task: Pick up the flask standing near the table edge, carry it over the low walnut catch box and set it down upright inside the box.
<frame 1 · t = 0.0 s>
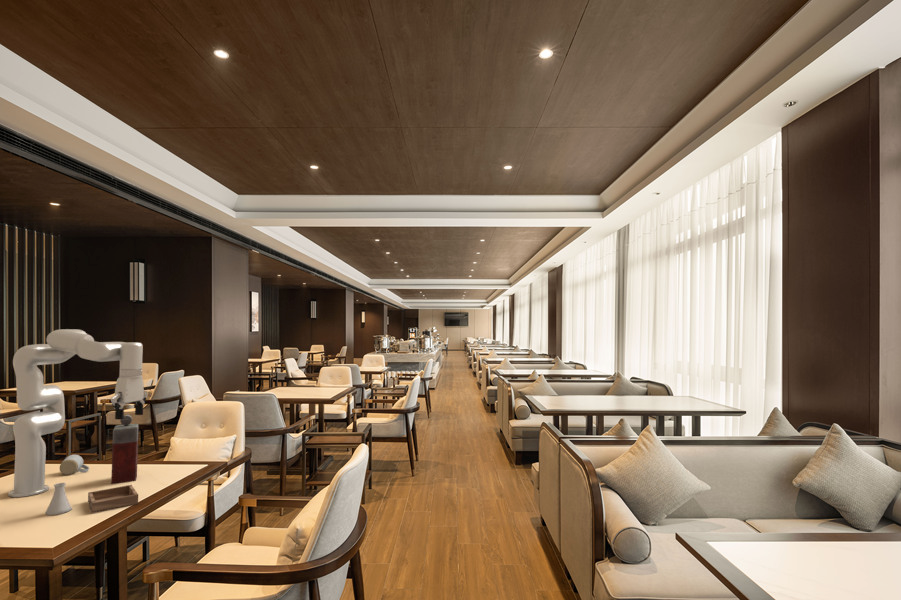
hand: (129, 417, 194), 31 cm above the table, tool pointing down, fingers open, 9 cm apart
flask: (58, 512, 177), on the table
catch box: (112, 502, 186), on the table
ceramic mug: (74, 473, 227), on the table
red decanter: (124, 479, 216), on the table
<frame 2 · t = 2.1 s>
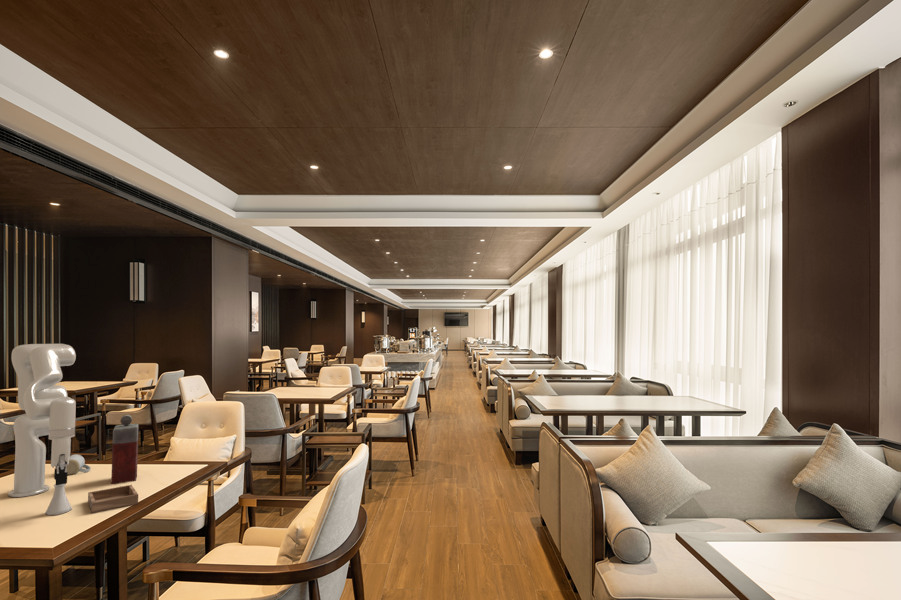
hand: (60, 481, 178), 11 cm above the table, tool pointing down, fingers open, 9 cm apart
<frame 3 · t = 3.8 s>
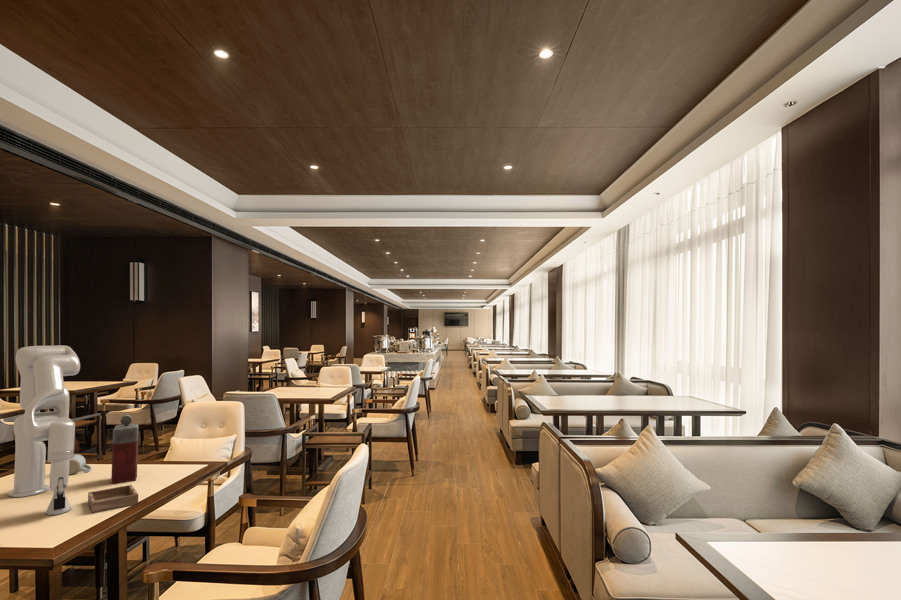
hand: (58, 506, 177), 2 cm above the table, tool pointing down, fingers closed on flask, 5 cm apart
flask: (58, 512, 177), on the table, touching gripper
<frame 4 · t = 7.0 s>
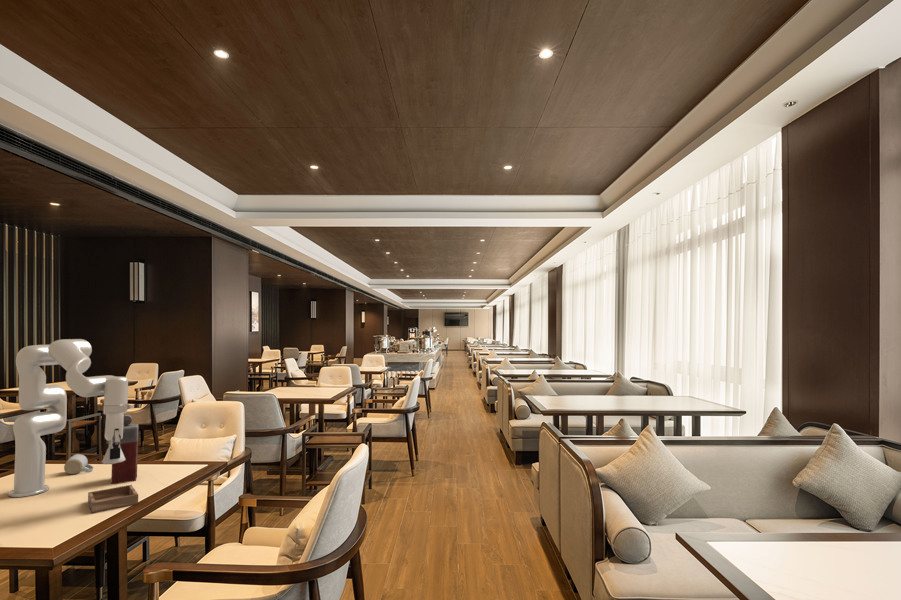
hand: (113, 456, 187), 17 cm above the table, tool pointing down, fingers closed on flask, 5 cm apart
flask: (113, 462, 187), point 15 cm above the table, touching gripper
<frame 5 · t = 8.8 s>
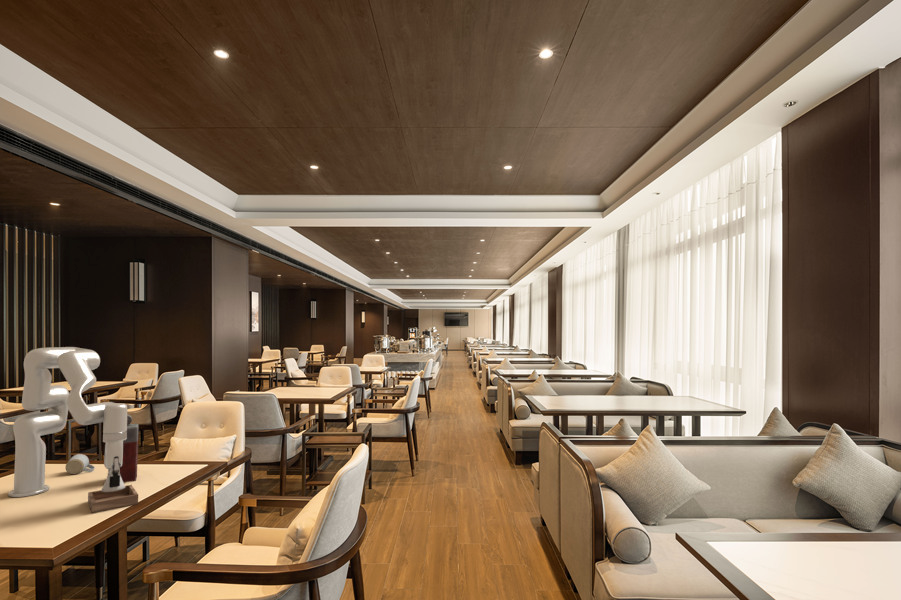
hand: (113, 484, 187), 7 cm above the table, tool pointing down, fingers closed on flask, 5 cm apart
flask: (113, 490, 187), point 5 cm above the table, touching gripper
when the fingers open (4 cm above the table, at t = 10.3 s): flask drops 1 cm, resting on catch box.
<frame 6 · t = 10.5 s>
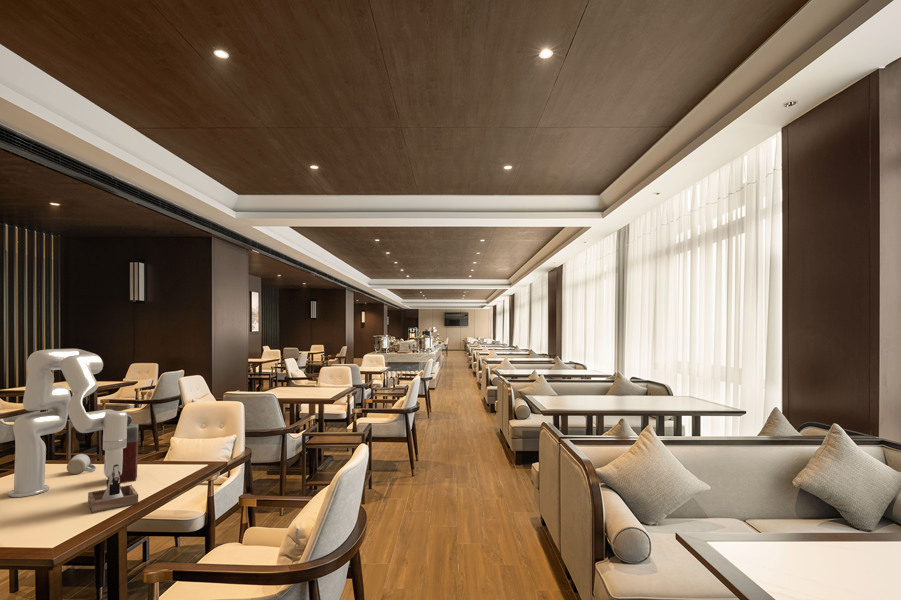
hand: (113, 491, 187), 4 cm above the table, tool pointing down, fingers open, 7 cm apart
flask: (112, 502, 186), resting on catch box
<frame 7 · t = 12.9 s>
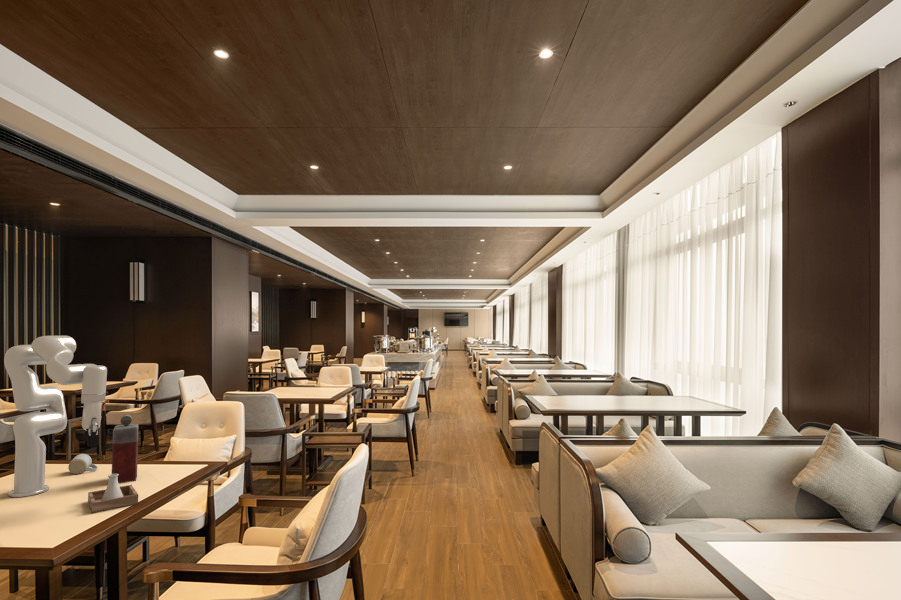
hand: (90, 443, 187), 23 cm above the table, tool pointing down, fingers open, 9 cm apart
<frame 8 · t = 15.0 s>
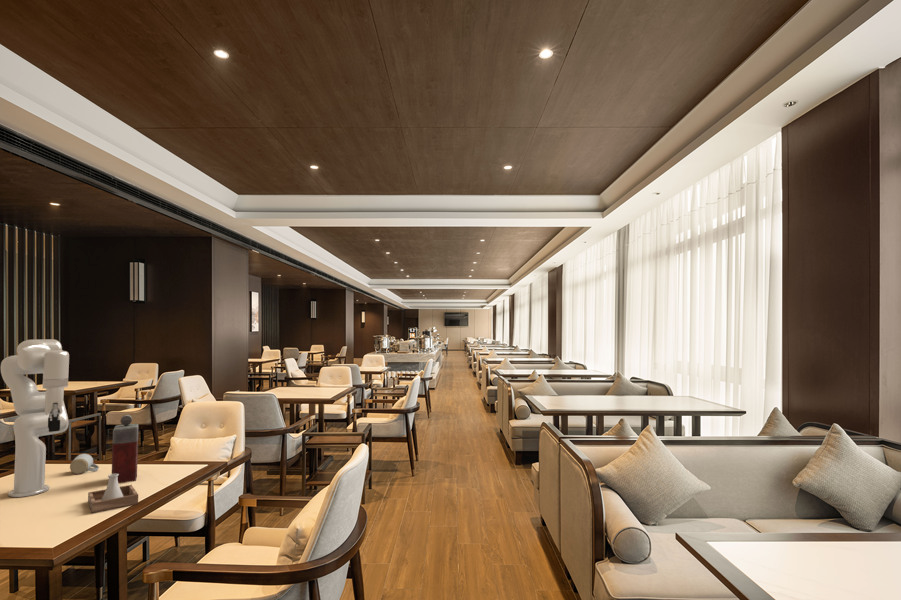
hand: (53, 429, 185), 28 cm above the table, tool pointing down, fingers open, 9 cm apart
at the end: flask inside the target area on the catch box (0.2 cm from its centre), point 0.3 cm above the catch box's base; flask tilted 0°; the gripper is holding nothing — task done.
